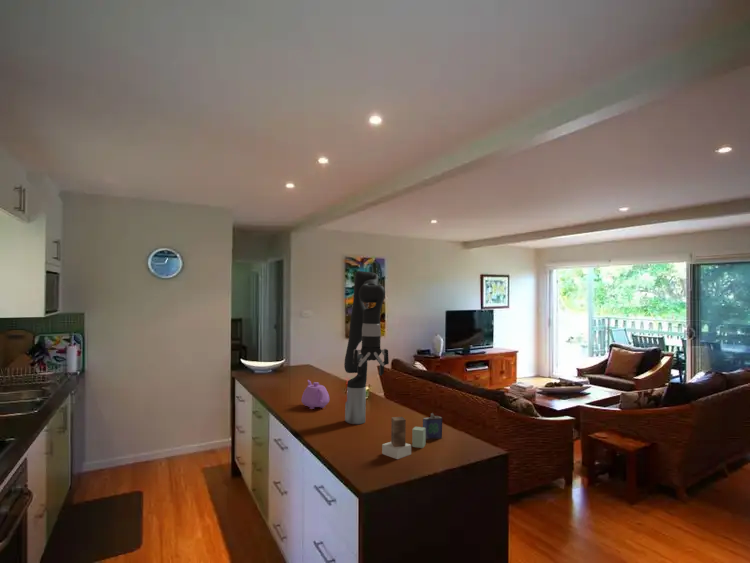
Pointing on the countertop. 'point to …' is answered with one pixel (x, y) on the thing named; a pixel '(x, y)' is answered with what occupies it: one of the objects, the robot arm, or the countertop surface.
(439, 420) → the flask
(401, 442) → the walnut pillar
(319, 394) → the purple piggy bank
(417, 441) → the sage block
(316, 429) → the countertop surface
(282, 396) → the countertop surface
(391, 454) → the base block
